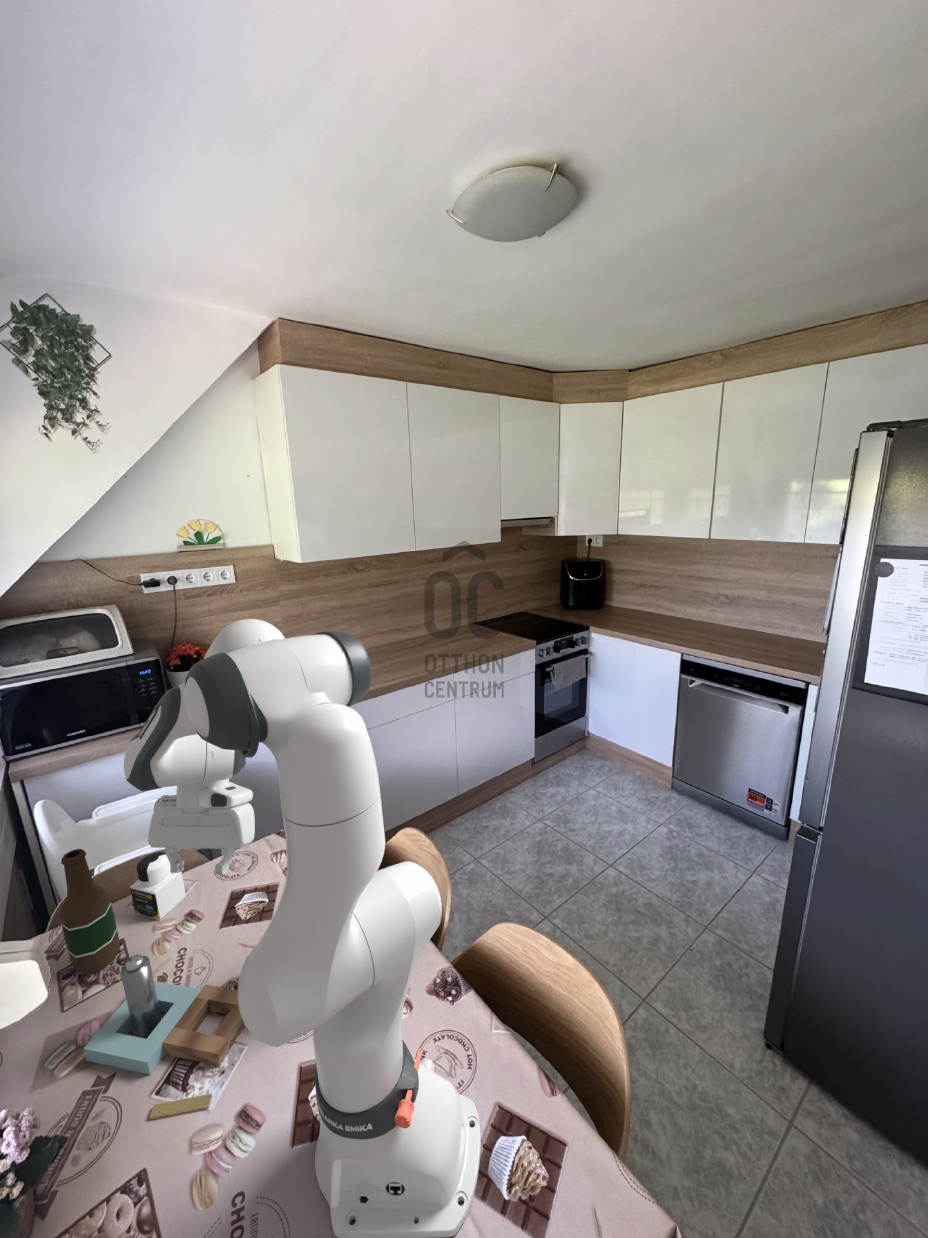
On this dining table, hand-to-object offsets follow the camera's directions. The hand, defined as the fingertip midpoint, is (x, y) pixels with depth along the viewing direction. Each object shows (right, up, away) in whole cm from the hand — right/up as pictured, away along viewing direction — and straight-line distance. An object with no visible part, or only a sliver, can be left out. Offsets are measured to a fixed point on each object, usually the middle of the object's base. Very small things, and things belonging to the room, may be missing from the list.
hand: (199, 872), depth 91 cm
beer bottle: (-23, -20, +6) cm, 32 cm away
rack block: (-5, -23, -7) cm, 24 cm away
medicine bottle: (-19, -17, +19) cm, 32 cm away
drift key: (+7, -26, -19) cm, 32 cm away
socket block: (+6, -23, -8) cm, 25 cm away
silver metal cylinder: (-5, -23, -7) cm, 24 cm away
